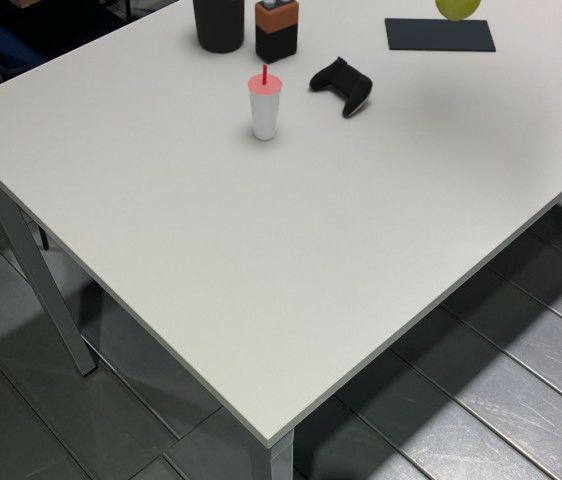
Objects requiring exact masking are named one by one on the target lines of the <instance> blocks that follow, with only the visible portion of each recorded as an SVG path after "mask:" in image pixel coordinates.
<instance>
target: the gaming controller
mask: <svg viewBox="0 0 562 480" xmlns="http://www.w3.org/2000/svg"><path fill="white" fill-rule="evenodd" d="M308 86H309V88H310V89H311V91H314V92H316V91H317V92H318V91H320V90H324V89H325V88H327V87H328V88H329V87H332V88H333V89H334V90H336V91H337V92H339V93H340V94H341V95H343V96H344V97H345V98H346V101H345V103H344V106H343V108H342V115H344V116H345V117H347V118H349V117H350V116H352V115H353V114H354V113H356V112H357V111H358V110H359V109H360V108H362V106H363V105H364V104H365V103H366V102H367V100H368V99H369V97H370V96H371V93H372V91H373V88H374V82H373V80H372V79H371V78H370V77H369V76H368V75H366V74H363V73H362V72H361V71H359V69H357V68H355V67H353V66H352V65H351V64H349V63H348V62H347V60H345V59H344V58H342V57H341V56H339V55H338V56H337V58H336V59H335V60H334V61H333V62H331V63H330V64H329V65H327V66H326V67H324V68H322V69H321V70H319V71H318V72H316V73H315V74H314V75H313V76H312V77H311V79H310V80H309V83H308Z"/></svg>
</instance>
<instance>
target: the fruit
mask: <svg viewBox="0 0 562 480" xmlns="http://www.w3.org/2000/svg"><path fill="white" fill-rule="evenodd" d="M481 2H482V0H434V3H435V7H436V9H437V11H438V12H439V13H440V15H441V16H442V17H444V19H449V20H451V21H459V20H466V19H467V18H469V17H471V16H473V14H474V13H476V11H477V10H478V8H479V6H480V4H481Z"/></svg>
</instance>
